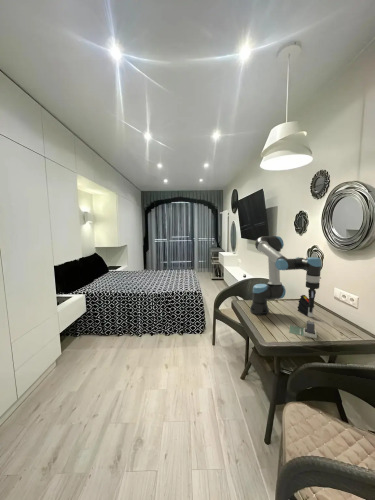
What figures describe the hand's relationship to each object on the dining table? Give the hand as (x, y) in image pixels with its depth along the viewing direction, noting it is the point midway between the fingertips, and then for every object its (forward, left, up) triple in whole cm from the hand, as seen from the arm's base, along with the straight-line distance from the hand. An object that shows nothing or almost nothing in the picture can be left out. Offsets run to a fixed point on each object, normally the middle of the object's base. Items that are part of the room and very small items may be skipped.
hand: (310, 316), depth 131 cm
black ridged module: (-2, +38, -14) cm, 40 cm away
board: (-4, +2, -14) cm, 14 cm away
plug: (0, 0, -12) cm, 12 cm away
